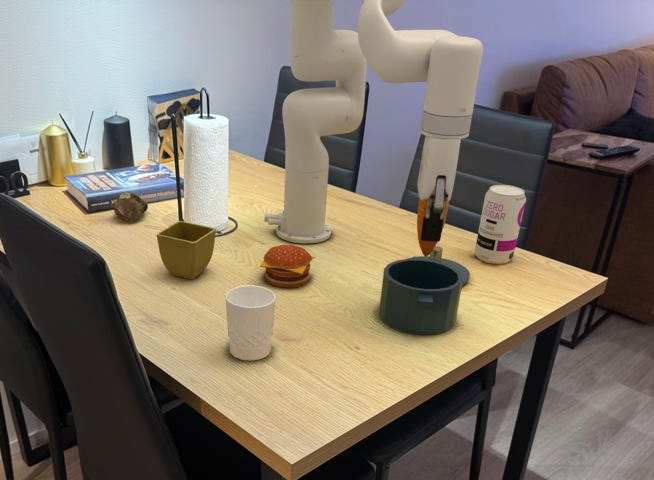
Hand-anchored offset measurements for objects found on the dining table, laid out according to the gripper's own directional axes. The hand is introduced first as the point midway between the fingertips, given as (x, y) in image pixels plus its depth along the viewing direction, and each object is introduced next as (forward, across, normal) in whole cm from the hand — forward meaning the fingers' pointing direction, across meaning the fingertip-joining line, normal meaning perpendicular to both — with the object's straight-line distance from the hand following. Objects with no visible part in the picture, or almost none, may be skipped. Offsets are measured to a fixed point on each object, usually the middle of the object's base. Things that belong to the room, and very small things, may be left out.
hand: (429, 233), depth 117 cm
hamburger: (+16, -12, -25) cm, 32 cm away
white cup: (+16, +17, -28) cm, 37 cm away
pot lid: (+15, -19, +4) cm, 25 cm away
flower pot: (+16, -11, -45) cm, 49 cm away
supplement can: (+16, -31, +18) cm, 39 cm away
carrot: (+4, 0, 0) cm, 4 cm away
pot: (+16, 0, 0) cm, 16 cm away
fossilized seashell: (+16, -40, -66) cm, 79 cm away
